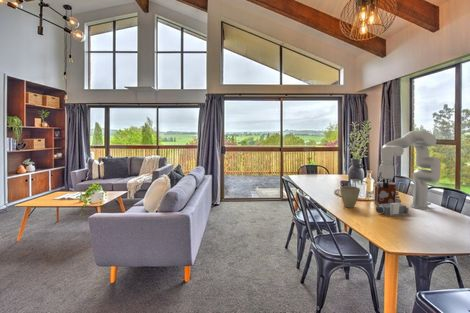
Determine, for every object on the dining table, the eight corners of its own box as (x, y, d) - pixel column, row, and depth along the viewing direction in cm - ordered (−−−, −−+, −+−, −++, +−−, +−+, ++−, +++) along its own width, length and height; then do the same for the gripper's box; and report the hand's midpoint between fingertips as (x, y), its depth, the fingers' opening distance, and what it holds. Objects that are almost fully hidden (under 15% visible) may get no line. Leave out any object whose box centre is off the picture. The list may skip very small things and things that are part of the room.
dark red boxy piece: (402, 208, 206) (404, 184, 204) (377, 206, 210) (378, 183, 208) (398, 205, 215) (399, 182, 213) (373, 203, 219) (374, 181, 217)
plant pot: (339, 208, 206) (340, 188, 205) (339, 203, 220) (340, 185, 218) (359, 210, 200) (360, 190, 199) (358, 205, 214) (359, 186, 213)
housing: (395, 210, 200) (396, 202, 200) (408, 214, 189) (408, 205, 189) (373, 212, 195) (373, 203, 194) (385, 216, 184) (385, 207, 184)
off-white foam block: (397, 213, 189) (397, 202, 188) (399, 214, 187) (400, 203, 186) (389, 214, 187) (390, 203, 186) (392, 214, 185) (392, 204, 184)
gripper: (391, 162, 187) (389, 186, 189) (374, 162, 184) (372, 187, 185) (399, 163, 180) (398, 188, 181) (382, 163, 176) (381, 189, 178)
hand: (385, 187), depth 183 cm, fingers closed
